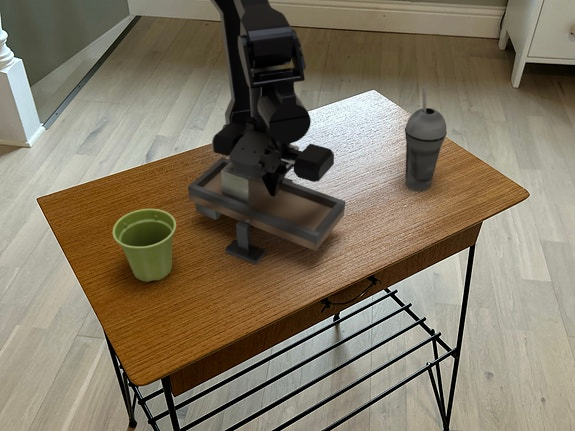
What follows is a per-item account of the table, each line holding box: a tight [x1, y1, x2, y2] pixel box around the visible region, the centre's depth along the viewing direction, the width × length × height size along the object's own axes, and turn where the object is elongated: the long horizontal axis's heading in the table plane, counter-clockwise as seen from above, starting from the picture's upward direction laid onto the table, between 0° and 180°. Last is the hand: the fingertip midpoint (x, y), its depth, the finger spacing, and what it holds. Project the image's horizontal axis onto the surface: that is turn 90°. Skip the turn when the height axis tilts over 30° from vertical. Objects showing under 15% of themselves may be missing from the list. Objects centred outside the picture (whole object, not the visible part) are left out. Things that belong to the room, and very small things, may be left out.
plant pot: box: [112, 208, 177, 283], centre depth 94 cm, size 9×9×9 cm
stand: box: [224, 176, 294, 266], centre depth 102 cm, size 6×17×6 cm, turn 151°
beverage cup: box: [404, 85, 447, 192], centre depth 108 cm, size 7×7×20 cm
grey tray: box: [187, 156, 346, 252], centre depth 101 cm, size 24×12×6 cm, turn 61°
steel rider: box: [221, 162, 268, 206], centre depth 99 cm, size 5×7×6 cm
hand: (273, 195), depth 98 cm, fingers closed
